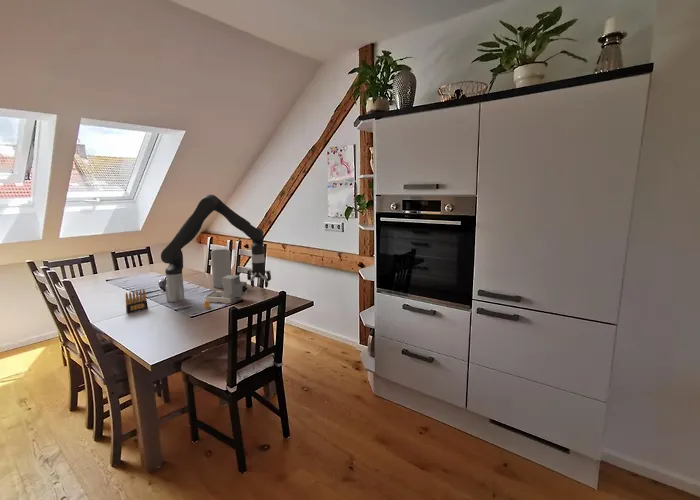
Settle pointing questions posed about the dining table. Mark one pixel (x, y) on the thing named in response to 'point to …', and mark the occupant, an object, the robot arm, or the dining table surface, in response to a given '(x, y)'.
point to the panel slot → (213, 298)
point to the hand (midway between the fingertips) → (259, 286)
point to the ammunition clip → (136, 302)
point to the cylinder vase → (220, 266)
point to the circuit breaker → (233, 287)
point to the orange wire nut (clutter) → (206, 304)
